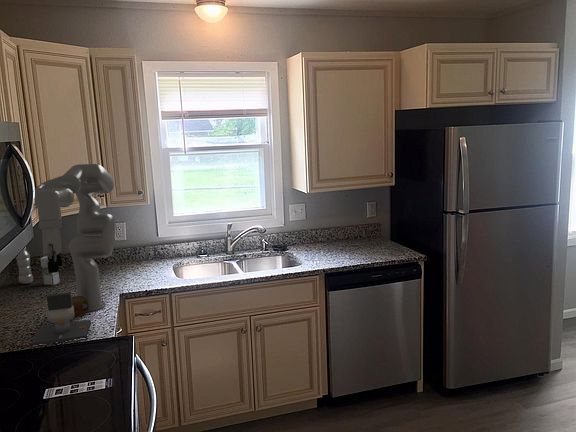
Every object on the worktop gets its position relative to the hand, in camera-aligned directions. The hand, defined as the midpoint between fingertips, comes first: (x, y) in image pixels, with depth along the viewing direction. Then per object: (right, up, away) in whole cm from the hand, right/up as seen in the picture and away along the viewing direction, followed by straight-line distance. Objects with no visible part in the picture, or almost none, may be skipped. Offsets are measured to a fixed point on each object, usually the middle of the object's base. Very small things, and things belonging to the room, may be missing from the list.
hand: (55, 269), depth 182 cm
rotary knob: (+1, -19, +2) cm, 19 cm away
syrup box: (-37, -16, +73) cm, 83 cm away
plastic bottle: (-51, -16, +75) cm, 92 cm away
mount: (+1, -25, +4) cm, 26 cm away
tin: (-5, -23, +23) cm, 33 cm away
